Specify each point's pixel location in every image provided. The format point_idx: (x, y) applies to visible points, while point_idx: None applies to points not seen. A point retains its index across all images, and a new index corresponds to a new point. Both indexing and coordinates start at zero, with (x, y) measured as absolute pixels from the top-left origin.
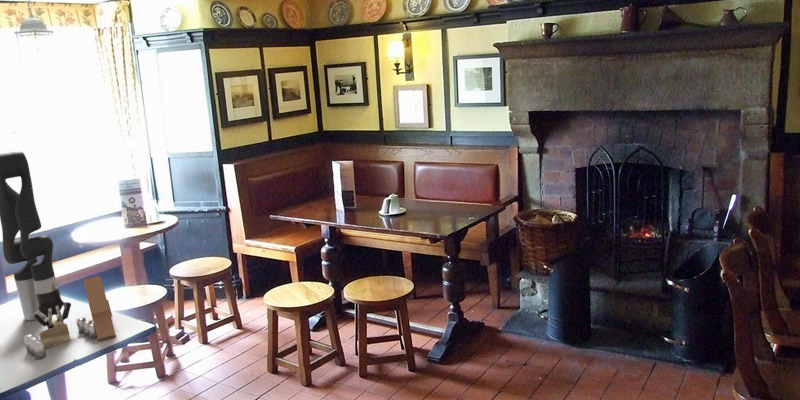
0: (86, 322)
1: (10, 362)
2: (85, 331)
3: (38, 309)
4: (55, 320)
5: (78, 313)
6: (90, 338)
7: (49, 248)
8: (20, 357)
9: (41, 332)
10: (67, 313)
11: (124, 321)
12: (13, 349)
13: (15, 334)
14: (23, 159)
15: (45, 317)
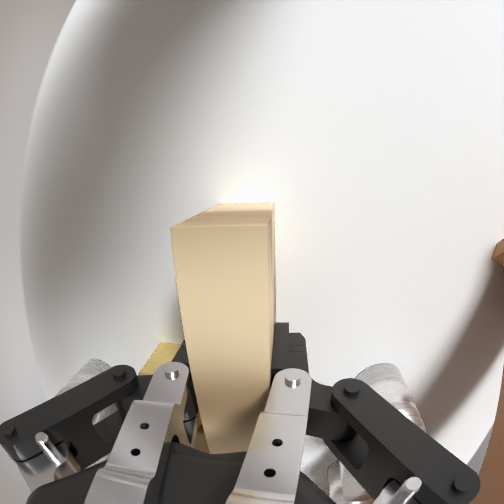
0: (365, 492)
1: (48, 380)
2: (340, 466)
3: (32, 501)
4: (244, 392)
5: (474, 30)
6: (328, 472)
7: None
8: (69, 379)
9: None
10: (364, 458)
11: (492, 403)
12: (37, 259)
13: (94, 18)
14: None
15: (133, 405)
